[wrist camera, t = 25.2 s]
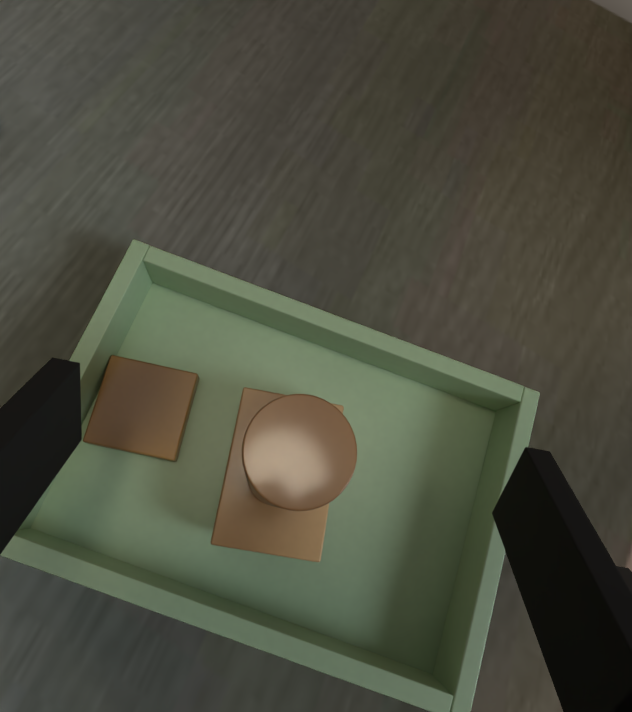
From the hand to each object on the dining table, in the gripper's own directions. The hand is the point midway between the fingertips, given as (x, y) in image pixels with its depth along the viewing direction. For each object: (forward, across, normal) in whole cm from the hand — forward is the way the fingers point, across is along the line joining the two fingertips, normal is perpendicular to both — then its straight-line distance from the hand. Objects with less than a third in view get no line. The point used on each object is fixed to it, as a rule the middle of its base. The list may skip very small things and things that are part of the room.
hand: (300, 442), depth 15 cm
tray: (+6, 0, -6) cm, 9 cm away
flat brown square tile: (+7, -7, -5) cm, 11 cm away
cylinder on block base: (+6, 0, -6) cm, 9 cm away
